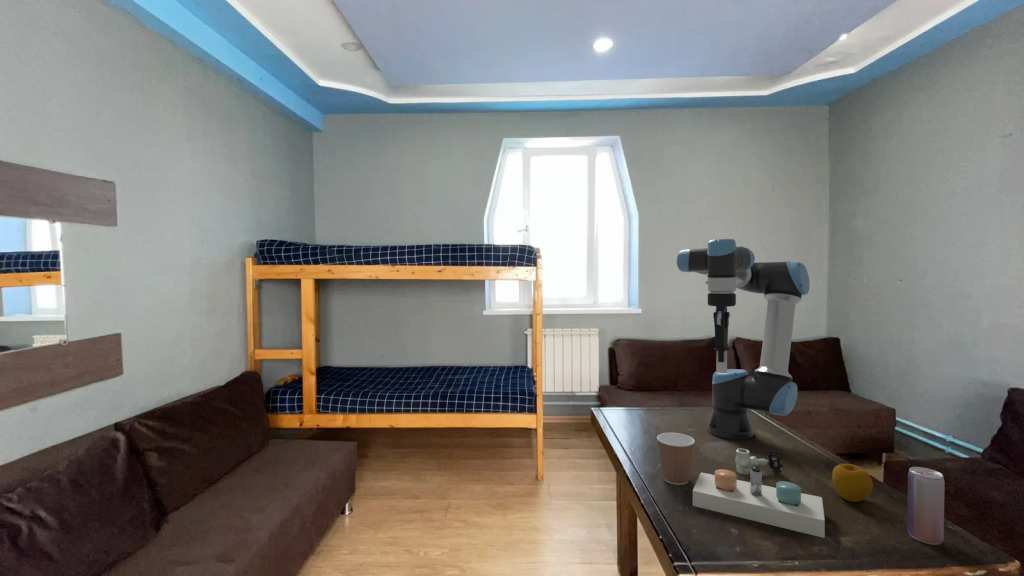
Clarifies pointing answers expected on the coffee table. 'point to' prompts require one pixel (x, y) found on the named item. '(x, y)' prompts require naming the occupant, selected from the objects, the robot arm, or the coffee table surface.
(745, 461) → the valve
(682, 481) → the coffee cup
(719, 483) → the knob terracotta
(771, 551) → the coffee table surface
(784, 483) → the knob teal
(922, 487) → the beverage can
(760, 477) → the pot post
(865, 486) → the apple
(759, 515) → the mount board
